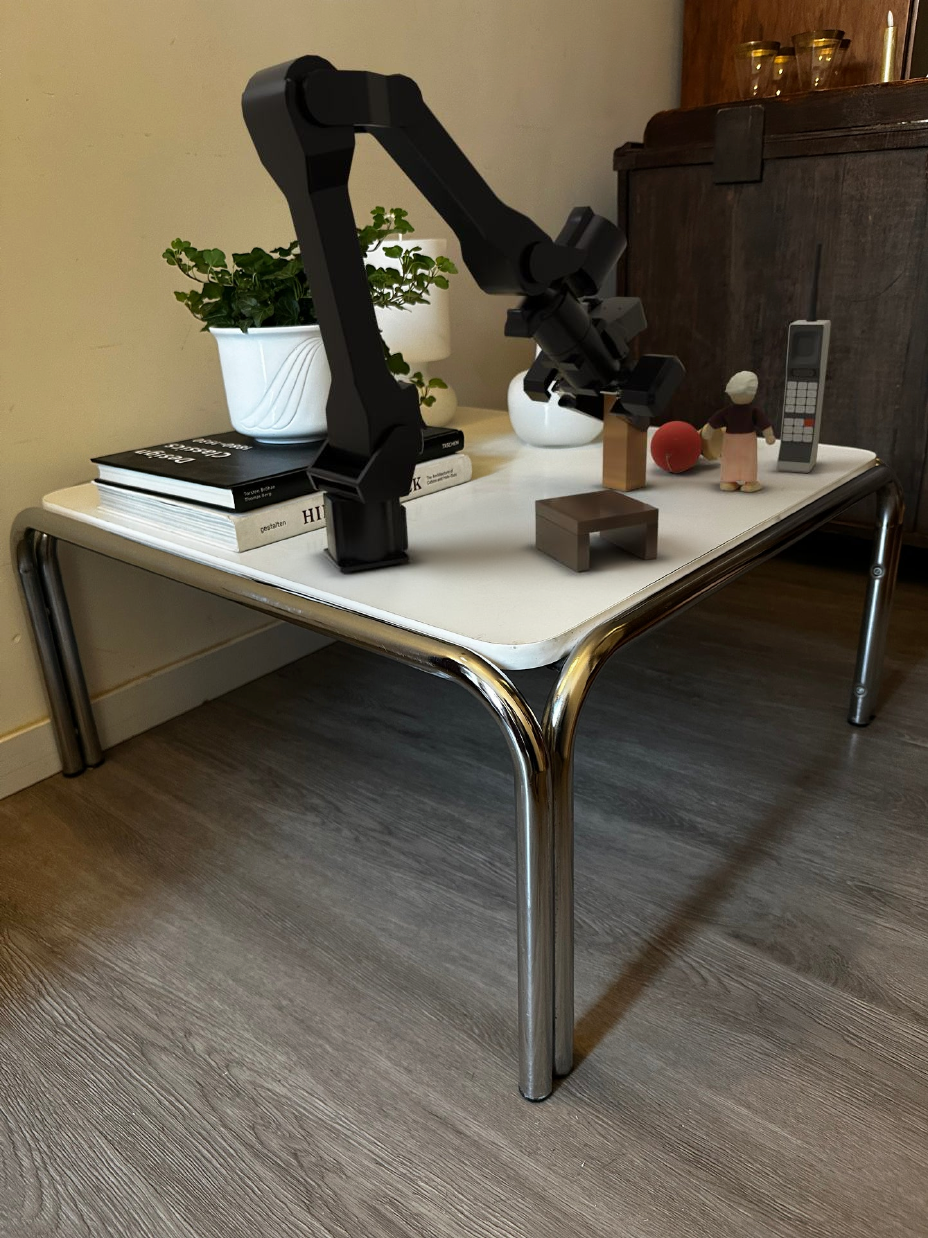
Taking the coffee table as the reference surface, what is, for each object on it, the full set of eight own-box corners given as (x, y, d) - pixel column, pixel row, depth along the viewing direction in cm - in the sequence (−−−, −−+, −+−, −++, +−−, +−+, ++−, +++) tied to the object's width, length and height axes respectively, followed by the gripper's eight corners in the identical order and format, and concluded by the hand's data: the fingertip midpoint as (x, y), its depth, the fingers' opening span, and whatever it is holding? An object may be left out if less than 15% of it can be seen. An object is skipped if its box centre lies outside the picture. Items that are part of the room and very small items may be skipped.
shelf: (577, 572, 79) (577, 521, 77) (535, 547, 86) (534, 500, 84) (657, 558, 82) (659, 508, 80) (610, 534, 89) (611, 488, 87)
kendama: (690, 455, 125) (628, 463, 111) (703, 408, 123) (642, 410, 109) (743, 471, 121) (686, 482, 107) (758, 423, 119) (702, 428, 105)
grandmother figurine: (770, 484, 104) (780, 368, 99) (771, 493, 100) (781, 373, 96) (700, 482, 106) (706, 368, 101) (698, 491, 103) (705, 373, 98)
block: (625, 491, 104) (628, 381, 99) (602, 486, 106) (603, 379, 102) (645, 485, 106) (649, 378, 101) (622, 481, 108) (625, 375, 104)
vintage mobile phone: (776, 471, 110) (796, 243, 100) (784, 462, 114) (804, 242, 104) (809, 473, 108) (833, 242, 98) (816, 464, 112) (839, 241, 103)
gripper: (678, 269, 88) (738, 375, 99) (540, 270, 101) (606, 363, 112) (621, 363, 86) (688, 460, 97) (488, 352, 100) (560, 438, 110)
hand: (633, 426), depth 104 cm, fingers closed on block, 3 cm apart
